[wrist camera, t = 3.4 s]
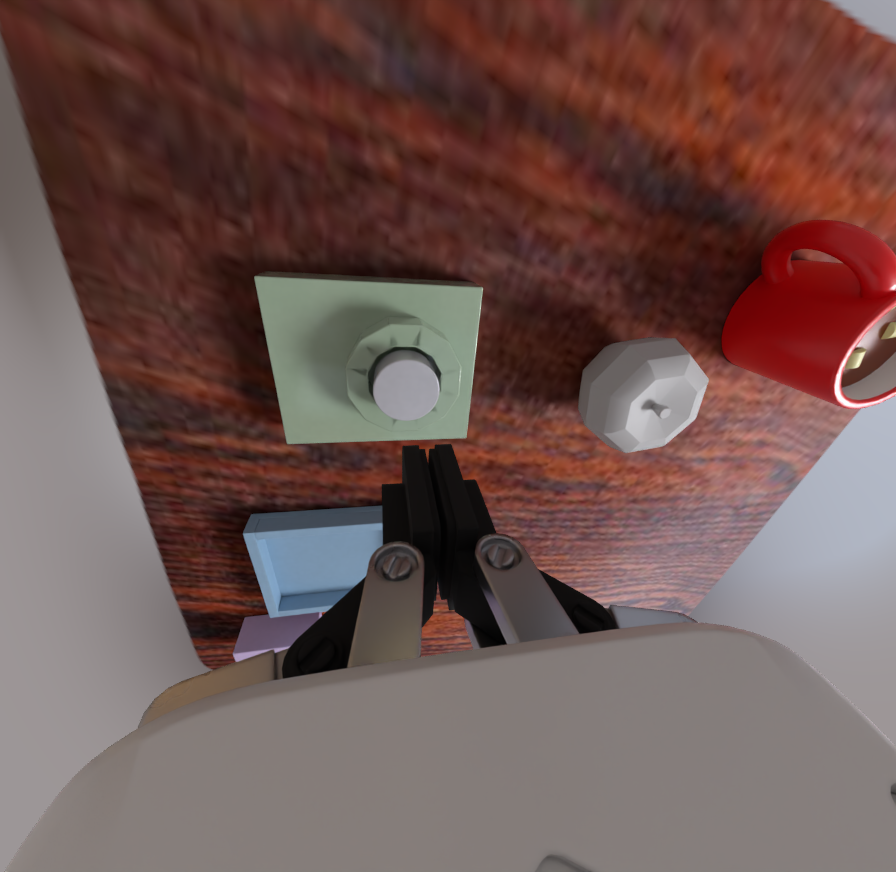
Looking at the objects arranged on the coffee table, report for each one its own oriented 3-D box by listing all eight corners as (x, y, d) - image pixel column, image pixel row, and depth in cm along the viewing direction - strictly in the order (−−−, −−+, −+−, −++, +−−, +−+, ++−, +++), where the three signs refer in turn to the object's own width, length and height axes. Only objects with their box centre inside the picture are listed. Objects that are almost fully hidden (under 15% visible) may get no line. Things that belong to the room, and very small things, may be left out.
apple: (588, 306, 24) (652, 332, 18) (674, 336, 26) (755, 367, 20) (539, 409, 27) (580, 457, 22) (619, 427, 30) (674, 475, 24)
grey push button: (374, 408, 21) (374, 422, 19) (371, 348, 19) (371, 359, 18) (433, 407, 22) (438, 420, 20) (437, 349, 20) (441, 360, 18)
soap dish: (275, 597, 33) (269, 618, 31) (250, 513, 28) (242, 533, 26) (409, 582, 35) (410, 601, 34) (410, 503, 30) (412, 520, 28)
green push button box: (293, 427, 24) (280, 460, 21) (264, 270, 19) (241, 280, 16) (460, 423, 27) (472, 452, 23) (474, 281, 22) (492, 292, 18)
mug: (801, 177, 22) (988, 157, 15) (829, 317, 27) (973, 347, 21) (689, 273, 24) (810, 292, 17) (737, 385, 29) (841, 432, 23)
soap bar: (254, 642, 36) (243, 680, 33) (244, 616, 34) (232, 654, 31) (325, 633, 37) (321, 668, 34) (320, 607, 35) (315, 643, 32)
